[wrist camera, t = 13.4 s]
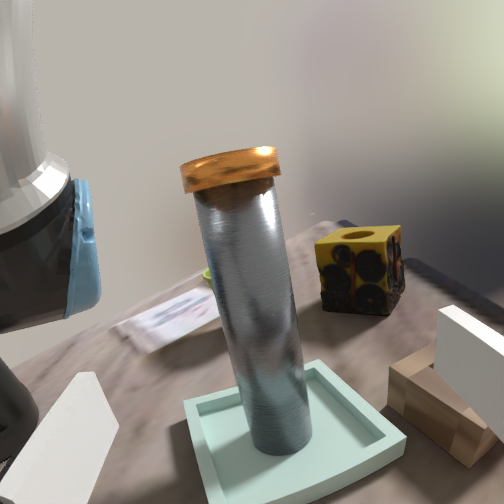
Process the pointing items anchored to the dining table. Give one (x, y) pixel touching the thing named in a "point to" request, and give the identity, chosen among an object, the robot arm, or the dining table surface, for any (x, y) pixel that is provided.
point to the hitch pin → (253, 291)
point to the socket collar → (437, 408)
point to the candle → (361, 269)
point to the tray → (296, 464)
